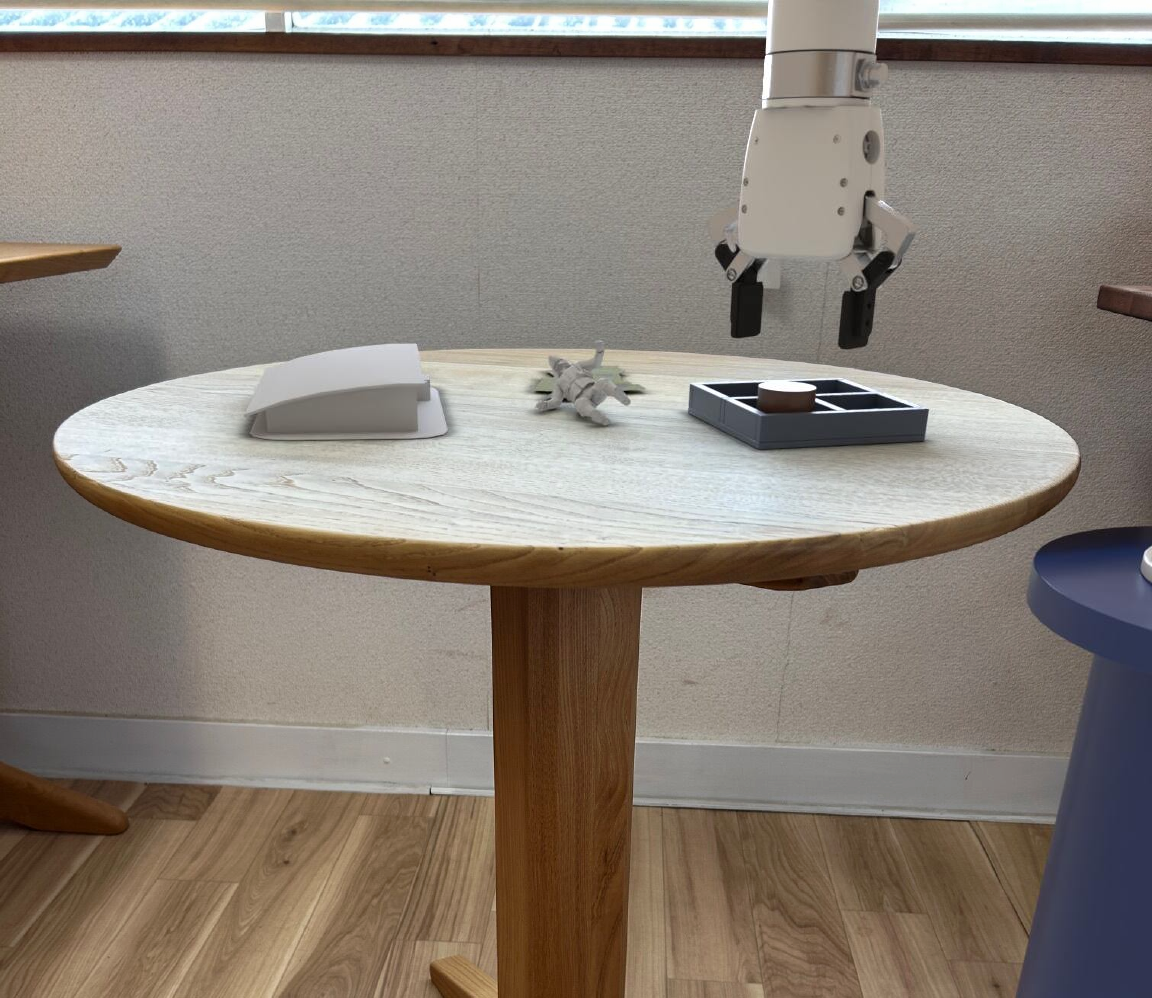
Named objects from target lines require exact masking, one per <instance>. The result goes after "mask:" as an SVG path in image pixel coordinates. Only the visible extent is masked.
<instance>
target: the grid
mask: <svg viewBox="0 0 1152 998" xmlns="http://www.w3.org/2000/svg"><path fill="white" fill-rule="evenodd" d="M776 381H784V382H798V383H805V384H810V385H813V386H815V387H816V398H815V408H814V412H796V413H772V414H766V413H763V412H761V411H759V410H757V409H756V407H757V395H758V385H759V384H761V383H765V382H776ZM688 391H689V392H688V408H687V414H689V415H691V416H693V417H695V418H696V419H699V420H701V421H702V422H705V423H706V424H709V425H711V426H712V427H714V428H717V429H719V430H720V431H723V432H724V433H726V434H728V435H730V436H732V437H734V438H736V439H738V440H740V441H742V442H744V443H745V444H747V445H750V446H752V447H754V448H756V449H757V450H773V449H775V450H776V449H794V448H795V449H796V448H813V447H814V448H815V447H831V446H833V447H835V446H852V445H872V444H890V443H892V444H893V443H909V442H924V441H925V440H926V432H927V425H928V420H929V413H930V408H928V407H925V406H922V405H919V404H916V403H914V402H911V401H909V400H906V399H902V398H900V397H896V396H895V395H894V396H893V395H890V394H888V393H885V392H881V391H880V390H877V389H875V388H874V389H873V388H871V387H867V386H865V385H863V384H860V383H857V382H854V381H851V380H849V379H844V378H842V377H828V378H826V377H824V378H799V379H798V378H797V379H796V378H795V379H771V380H770V379H769V380H766V379H765V380H741V381H740V380H739V381H736V380H735V381H713V382H708V381H707V382H690V383H689V389H688Z"/></svg>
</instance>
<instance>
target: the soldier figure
mask: <svg viewBox="0 0 1152 998" xmlns="http://www.w3.org/2000/svg"><path fill="white" fill-rule="evenodd" d="M594 343H595V344H594V350H595V354H594V356H593V357H592V358H590V359H580V360H577V361H575V362H573V361H572V360H570V359H566V358H563V357H560V356H558V355H555V354H553V355H551V354H550V355H548V356H547V358H548V359H547V360H548V364H549V366H550V367H551V370H553V375H552V376H553V377H554V378H555V380H556V382H555V384H554V388H553V391H552V393H553V395H552V398H550V399H548V400H543V399H540V400H538V401H537V402H536V403H535V405H534V408H535V409H538V410H539V411H540V413H541V412H543V411H544V410H545V411H546V410H547V411H548V410H554V409H557V408H558V407H560V406H561V404H562V402H563V400H564V399H566V400H567V402H570V401H571V403H572V404H573V407H574V409H575V412H577V413H578V414H579V415H580V417H588V418H591V419H592V420H593V421H594V422H595V423H598V424H601V425H603V426H608V425H610V423H611V419H610V418H609V417H608V416H607V415H606V414H605V413H603V412H601V411H599V410H597V407H598V406H599V405H600V404H602V403H603V402H604V401H605V400H607V397H608V396H610V397H613V398H614V399H615V400H616V401H618V402H619V403H620V404H622V405H623V406H626V407H628V406H629V405H631V402H632V401H631V399H630V398H629V397H628V395H627V394H626V392H624V391H623V390H622V389H620V388H619V387H617V386H616V385H615V384H614V383H612V381H611V380H610V379H608V378H601V379H599V380H598V381H597V382H595V381H594V380H593V379H592V378H593V374H591V373H590V372H592V371H593V370H595V369H597V368H599V367H600V366H602V364H603V363H602V362H603V359H604V355H605V349H604V345H605V344H604V341H603V340H599V339H597V340H595V341H594ZM564 397H566V398H564Z"/></svg>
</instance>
